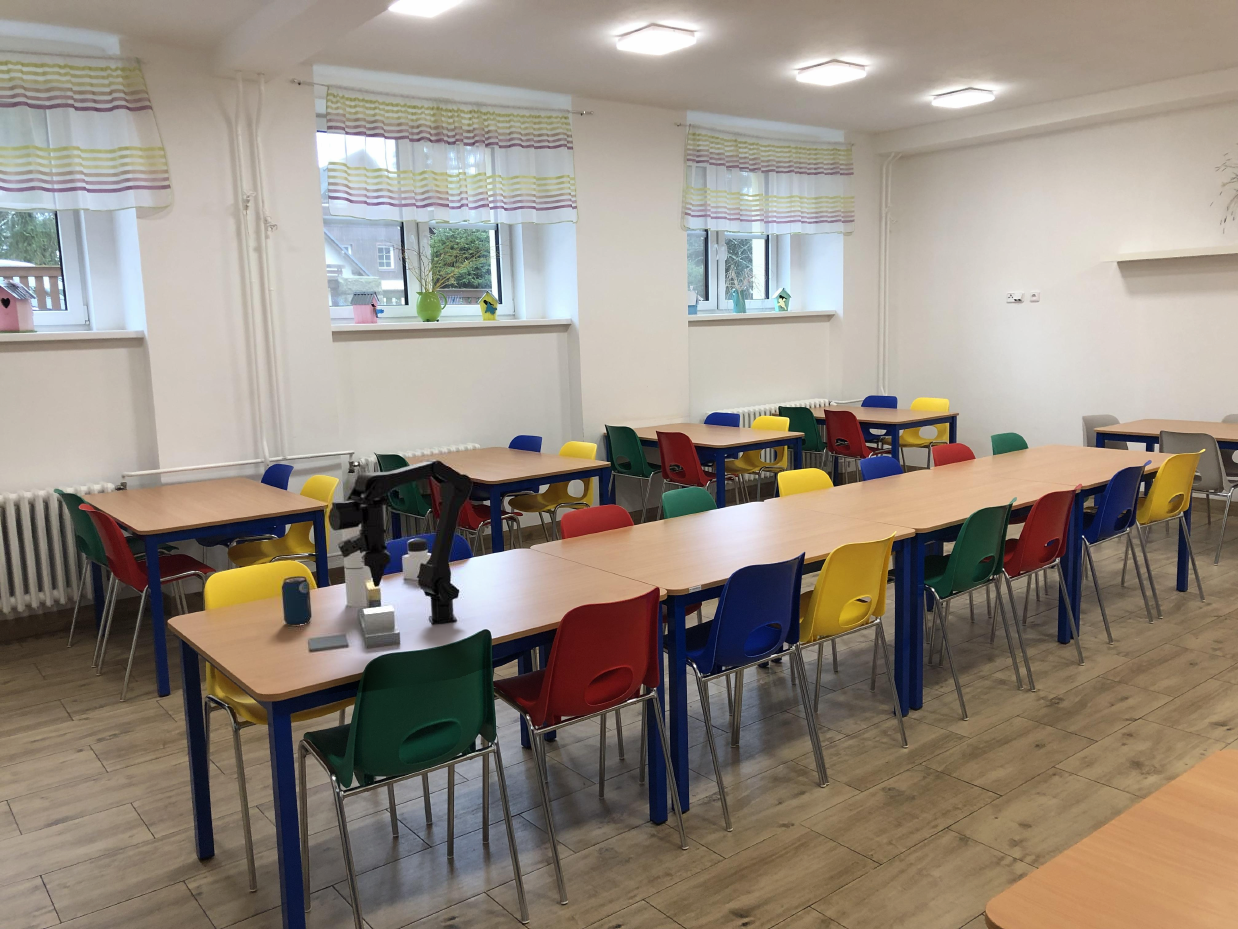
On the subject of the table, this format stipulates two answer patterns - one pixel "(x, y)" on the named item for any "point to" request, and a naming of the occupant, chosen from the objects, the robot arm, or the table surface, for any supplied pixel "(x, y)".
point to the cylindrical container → (355, 573)
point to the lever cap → (379, 617)
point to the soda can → (296, 600)
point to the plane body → (377, 630)
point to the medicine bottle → (415, 558)
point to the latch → (372, 591)
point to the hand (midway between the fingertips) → (376, 585)
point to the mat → (328, 642)
